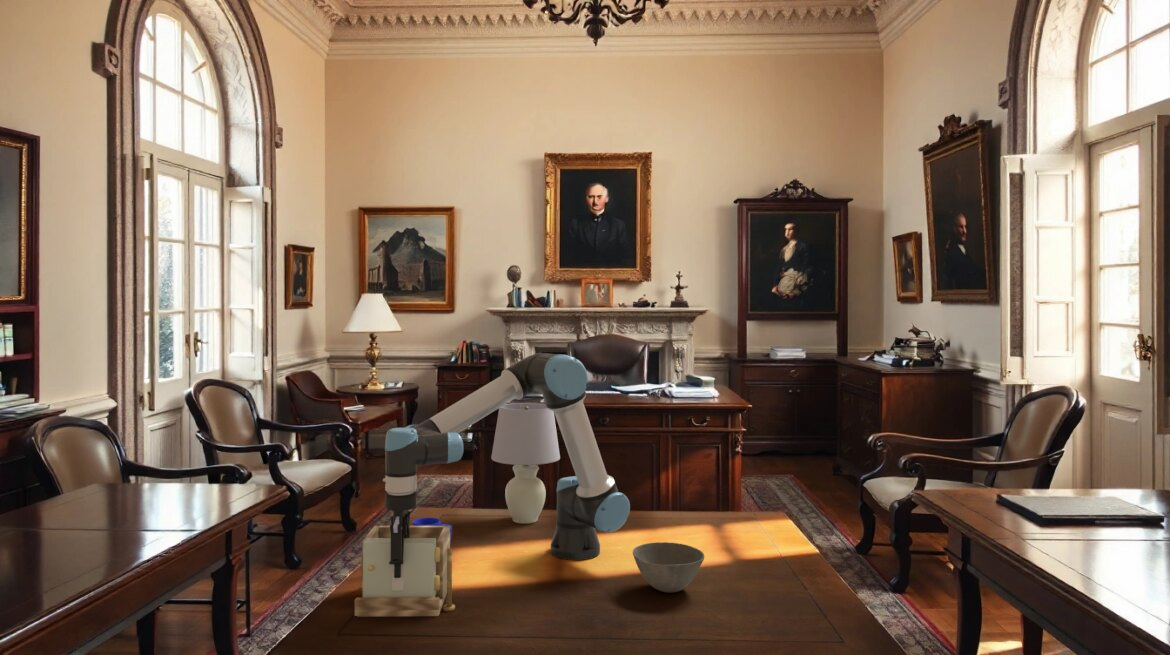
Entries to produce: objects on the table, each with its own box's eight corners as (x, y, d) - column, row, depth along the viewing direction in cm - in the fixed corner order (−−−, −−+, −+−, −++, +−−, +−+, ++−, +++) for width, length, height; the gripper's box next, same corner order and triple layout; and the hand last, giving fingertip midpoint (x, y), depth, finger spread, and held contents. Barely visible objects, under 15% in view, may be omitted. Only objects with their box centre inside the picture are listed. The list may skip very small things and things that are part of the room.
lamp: (569, 515, 281) (570, 404, 280) (544, 533, 258) (545, 412, 257) (508, 508, 289) (509, 400, 288) (478, 525, 266) (479, 408, 265)
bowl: (618, 591, 207) (618, 553, 207) (658, 572, 222) (659, 537, 221) (677, 609, 195) (678, 569, 195) (716, 588, 210) (717, 551, 209)
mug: (446, 560, 230) (446, 526, 230) (407, 557, 232) (408, 523, 232) (456, 551, 238) (456, 519, 238) (419, 548, 240) (419, 516, 240)
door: (440, 593, 195) (441, 538, 195) (437, 601, 190) (438, 544, 190) (366, 594, 194) (367, 538, 194) (361, 601, 189) (362, 544, 189)
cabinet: (462, 584, 210) (463, 525, 210) (452, 616, 189) (453, 550, 189) (374, 585, 209) (374, 525, 208) (354, 616, 188) (354, 550, 188)
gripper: (392, 483, 200) (391, 574, 201) (377, 500, 183) (376, 599, 184) (421, 483, 201) (421, 574, 201) (410, 500, 183) (409, 599, 184)
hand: (400, 586), depth 192 cm, fingers closed on door, 4 cm apart
